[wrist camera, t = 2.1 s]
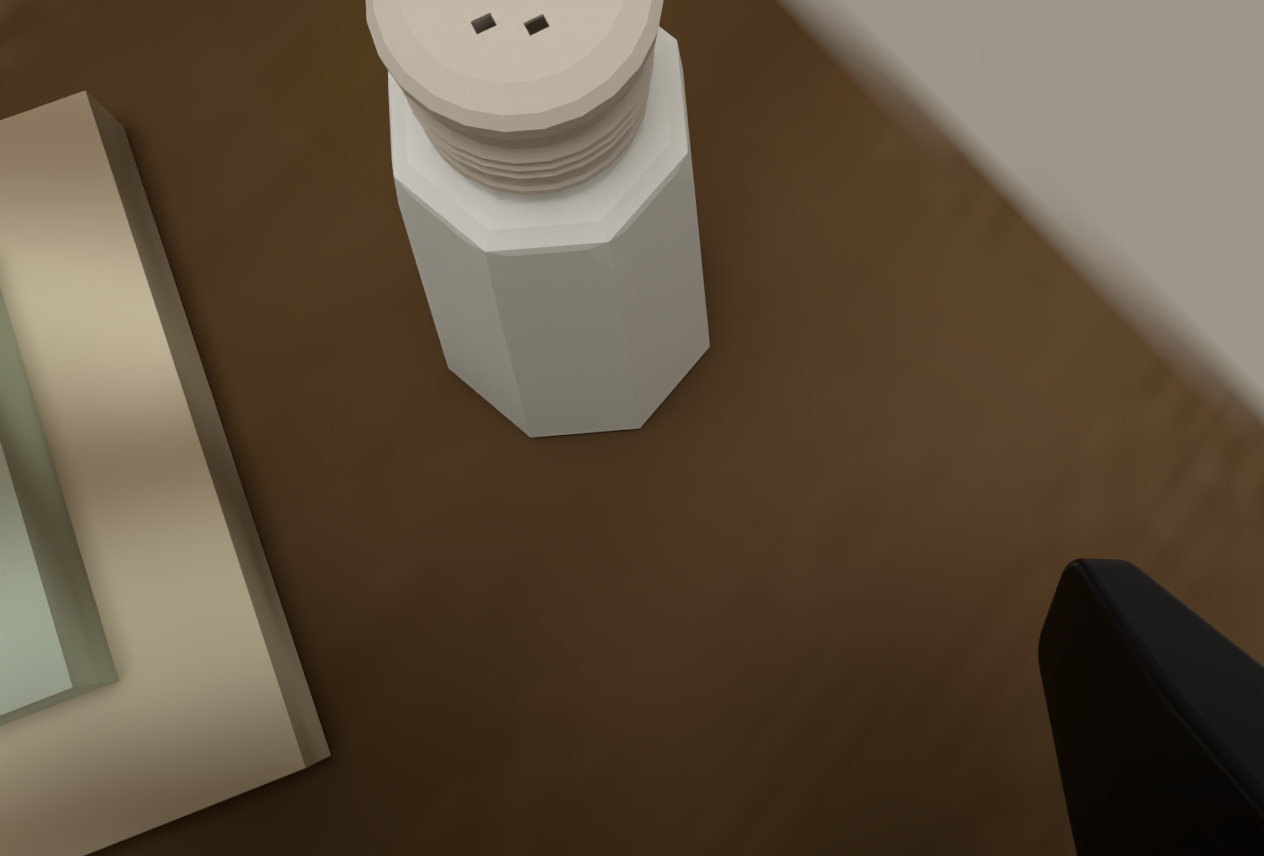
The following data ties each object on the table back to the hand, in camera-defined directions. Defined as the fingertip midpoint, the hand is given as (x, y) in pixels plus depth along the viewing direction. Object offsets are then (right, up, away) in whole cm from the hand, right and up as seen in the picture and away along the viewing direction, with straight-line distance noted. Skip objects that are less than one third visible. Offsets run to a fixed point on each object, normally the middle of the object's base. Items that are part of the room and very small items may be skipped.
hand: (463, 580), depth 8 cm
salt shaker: (0, +3, +13) cm, 13 cm away
